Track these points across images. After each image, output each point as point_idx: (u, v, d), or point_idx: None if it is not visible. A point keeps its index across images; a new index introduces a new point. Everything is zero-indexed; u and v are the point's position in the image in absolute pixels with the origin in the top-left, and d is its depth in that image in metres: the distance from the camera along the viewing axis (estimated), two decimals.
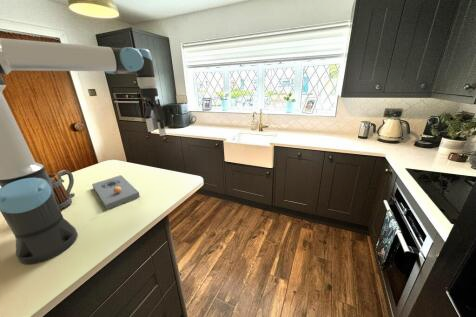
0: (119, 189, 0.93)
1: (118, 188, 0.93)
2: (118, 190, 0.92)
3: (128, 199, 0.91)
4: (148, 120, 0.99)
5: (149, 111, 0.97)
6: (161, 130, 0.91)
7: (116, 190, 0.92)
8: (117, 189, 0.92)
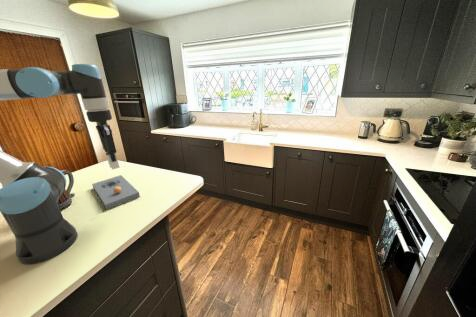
0: (119, 189, 0.93)
1: (118, 188, 0.93)
2: (118, 190, 0.92)
3: (128, 199, 0.91)
4: None
5: None
6: (112, 163, 0.80)
7: (116, 190, 0.92)
8: (117, 189, 0.92)
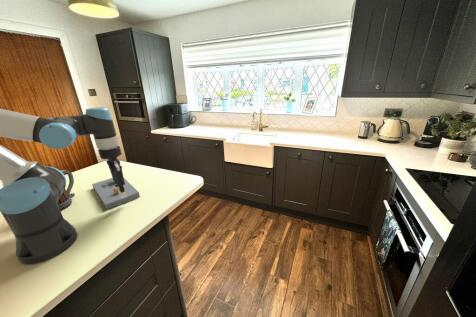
0: None
1: None
2: None
3: (128, 199, 0.91)
4: None
5: None
6: (121, 194, 0.86)
7: (116, 190, 0.92)
8: None
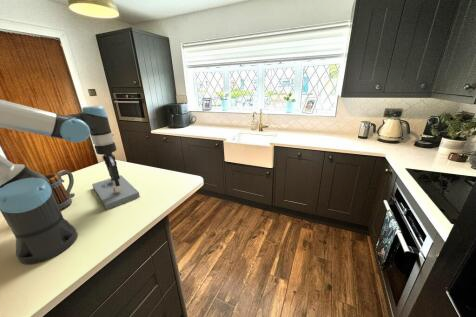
0: None
1: None
2: None
3: (128, 199, 0.91)
4: None
5: None
6: (116, 187, 0.91)
7: None
8: None
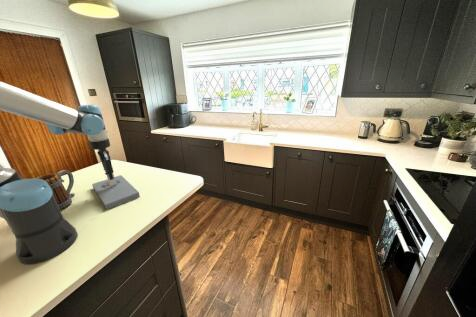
0: None
1: None
2: None
3: (128, 199, 0.91)
4: None
5: None
6: (110, 181, 0.98)
7: None
8: None
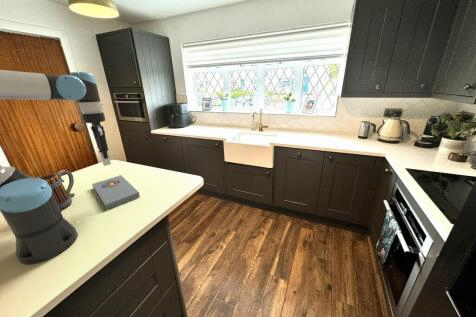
0: None
1: None
2: None
3: (128, 199, 0.91)
4: None
5: None
6: (104, 160, 0.89)
7: None
8: None
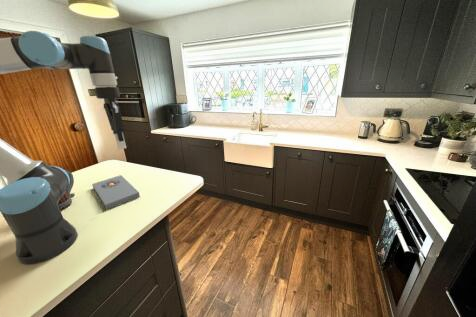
0: None
1: None
2: None
3: (128, 199, 0.91)
4: None
5: None
6: (119, 143, 0.78)
7: None
8: None
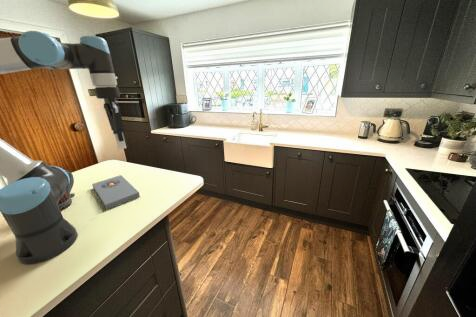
0: None
1: None
2: None
3: (128, 199, 0.91)
4: None
5: None
6: (119, 143, 0.78)
7: None
8: None
